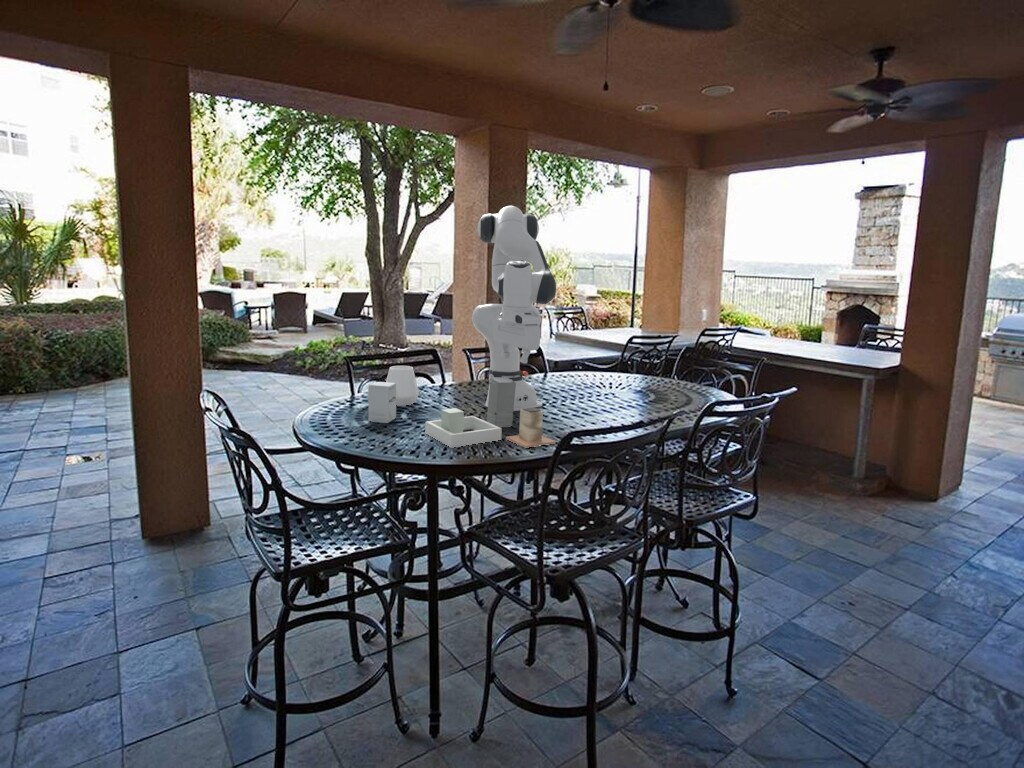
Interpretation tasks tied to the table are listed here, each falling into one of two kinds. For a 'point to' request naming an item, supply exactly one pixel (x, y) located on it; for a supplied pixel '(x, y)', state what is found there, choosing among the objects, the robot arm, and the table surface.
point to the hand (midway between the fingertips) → (514, 360)
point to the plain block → (452, 420)
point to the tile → (530, 444)
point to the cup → (403, 384)
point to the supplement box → (382, 402)
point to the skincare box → (501, 401)
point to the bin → (480, 435)
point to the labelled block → (531, 424)
